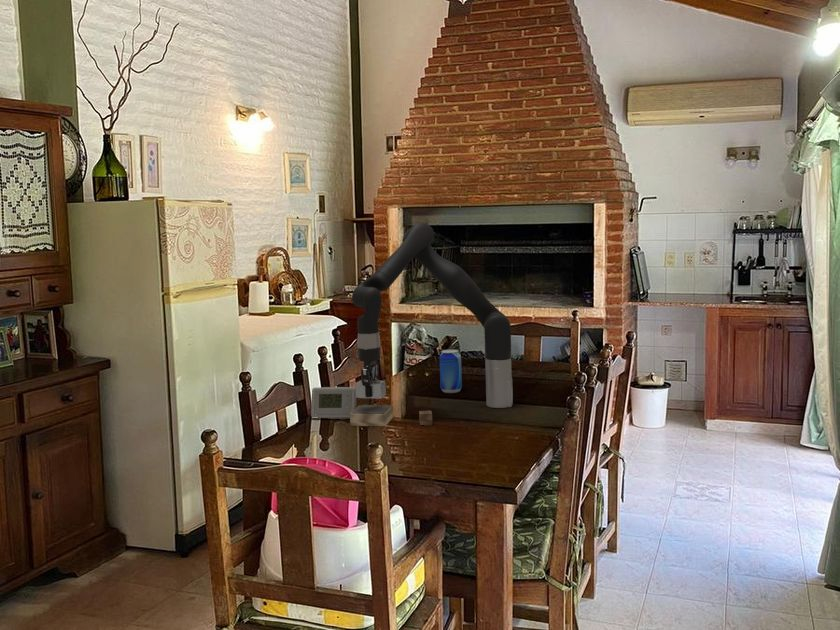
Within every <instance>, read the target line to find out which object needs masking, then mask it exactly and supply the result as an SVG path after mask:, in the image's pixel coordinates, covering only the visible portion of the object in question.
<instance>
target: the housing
mask: <svg viewBox="0 0 840 630" xmlns="http://www.w3.org/2000/svg"><path fill="white" fill-rule="evenodd" d="M366 382H368V380H366ZM354 384H355V385H354V387H355V388H356V399H378V400H379V399H380V400H381V399H383V398H384V397H386V396H387V394H386V393H387V392H386V380H380V379H377V380H372V397H366V396H365V386H363V385H362V379H361V380H359V381H357V382H355V383H354Z"/></svg>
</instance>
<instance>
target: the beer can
mask: <svg viewBox="0 0 840 630" xmlns="http://www.w3.org/2000/svg"><path fill="white" fill-rule="evenodd" d="M439 379H440V381H439V382H440V390H441V391H442V392H443V393H445V394H455V393H460V392H461V389H462V387H463V378H462V356H461V354H460V353H459V350H457V349H443V350H441V354H440V355H439Z"/></svg>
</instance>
